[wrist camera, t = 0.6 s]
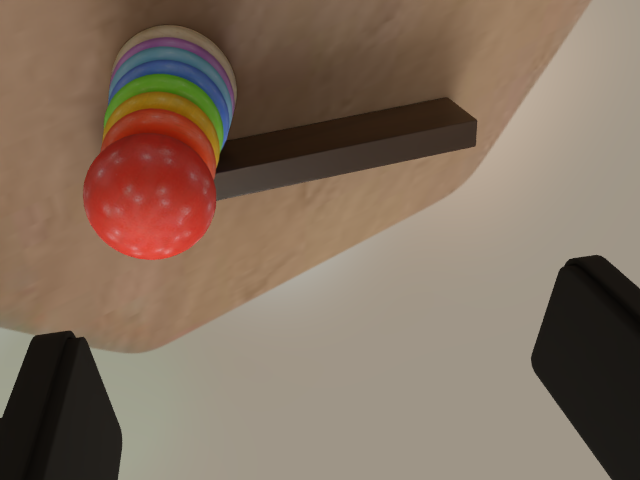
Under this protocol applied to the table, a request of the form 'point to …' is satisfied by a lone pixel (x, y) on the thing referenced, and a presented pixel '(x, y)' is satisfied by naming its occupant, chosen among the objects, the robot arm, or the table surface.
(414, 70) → the table surface
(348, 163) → the walnut board
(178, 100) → the stacking toy
